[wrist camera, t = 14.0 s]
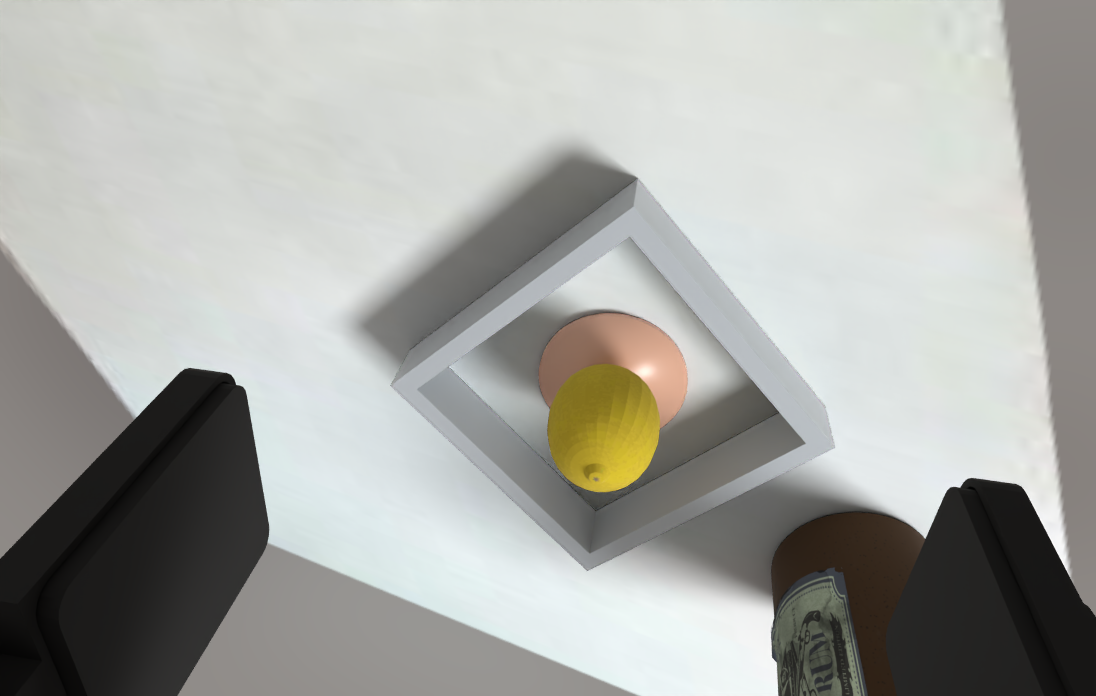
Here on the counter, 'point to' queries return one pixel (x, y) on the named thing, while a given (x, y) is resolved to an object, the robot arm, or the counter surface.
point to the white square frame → (632, 347)
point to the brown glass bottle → (839, 603)
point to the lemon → (603, 427)
